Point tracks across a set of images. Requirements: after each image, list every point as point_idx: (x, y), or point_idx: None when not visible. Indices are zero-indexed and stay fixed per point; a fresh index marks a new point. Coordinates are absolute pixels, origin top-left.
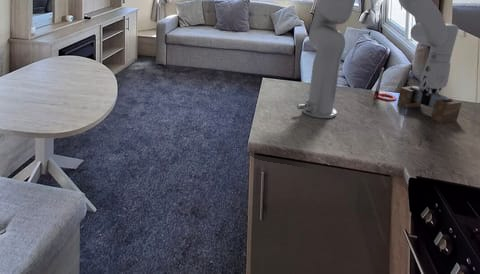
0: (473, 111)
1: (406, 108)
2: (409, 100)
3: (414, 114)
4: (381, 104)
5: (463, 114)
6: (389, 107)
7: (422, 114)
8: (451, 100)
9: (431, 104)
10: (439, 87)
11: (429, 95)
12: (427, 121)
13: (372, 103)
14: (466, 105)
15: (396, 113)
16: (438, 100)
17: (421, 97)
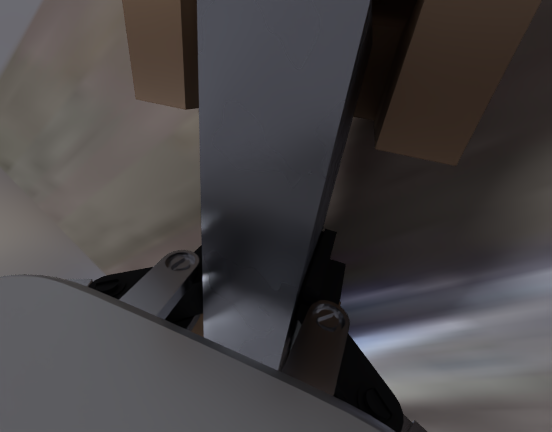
0: (21, 61)
1: (340, 302)
2: None
3: (407, 239)
4: (394, 393)
5: (102, 56)
6: (407, 362)
7: (354, 208)
8: (183, 25)
9: (327, 207)
10: (151, 328)
11: (298, 297)
12: (515, 100)
13: (420, 422)
14: (14, 140)
15: (502, 318)
16: (421, 131)
17: None
